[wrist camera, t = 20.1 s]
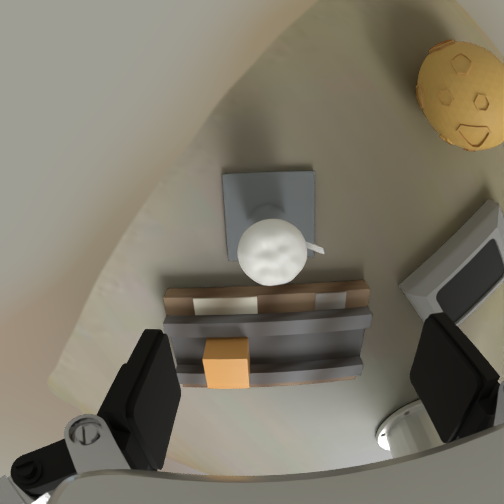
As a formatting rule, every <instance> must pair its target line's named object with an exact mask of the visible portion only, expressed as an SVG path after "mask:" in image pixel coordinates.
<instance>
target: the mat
mask: <svg viewBox="0 0 504 504" xmlns="http://www.w3.org/2000/svg"><path fill="white" fill-rule="evenodd" d="M222 179H223V194H224V208H225V222H226V236H227V249H228V261H238V255H237V250H238V245H239V241H240V239H241V237H242V235H243V233H244V230H245V227H246V225H247V222H248V219H249V216H250V215H251V213H252V212H253V211H254V210H255V208H256V207H257V206H260V205H264V204H268V203H269V204H271V205H274V206H277V207H279V208H280V209H281V210H282V212H283V213H284V214H285V215H286V217H287V218H288V219H289V220H290V221H291V222H292V223H293V224H294V225H295V227H296V228H297V229H298V230H299V231H300V232H301V233H302V235H303V237H304V239H305V241H306V242H309V243H312V244H314V233H315V171H274V172H249V173H230V174H222ZM307 257H314V251H313V250H311V249H308V248H307Z"/></svg>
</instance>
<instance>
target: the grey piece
mask: <svg viewBox="0 0 504 504" xmlns="http://www.w3.org/2000/svg"><path fill="white" fill-rule="evenodd" d="M369 294H370V288H369V286H368V285H367V283H366V282H365V281H364V280H354V281H339V282H323V283H305V284H285V285H274V286H266V285H264V286H239V287H209V288H168V289H167V291H166V293H165V295H164V297H163V300H164V305H165V310H166V315H167V316H166V318H165V320H164V322H163V326H164V331H165V334H167V335H168V337H171V339H172V344H173V348H174V352H175V357H176V361H177V367H176V373H177V377H178V381H179V384H183V387H208V386H207V381H206V376H205V371H204V365H203V360H202V359H203V354H204V349H205V345H206V340H207V337H248V341H249V356H250V387H270V386H288V385H302V384H314V383H324V382H334V381H342V380H350V379H355V377H356V376H358V375H361V373H362V368H363V362H362V360H361V358H360V352H361V347H362V341H363V335H364V329H365V328H370V327H371V321H372V315H373V314H372V312H371V311H370V309H369V307H368V302H369Z"/></svg>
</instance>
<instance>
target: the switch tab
mask: <svg viewBox="0 0 504 504" xmlns="http://www.w3.org/2000/svg"><path fill="white" fill-rule="evenodd" d="M202 360H203V365H204V371H205V376H206V381H207V386H208V388H212V389H234V388H250V356H249V341H248V337H207V340H206V345H205V349H204V354H203V359H202Z"/></svg>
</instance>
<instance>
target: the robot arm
mask: <svg viewBox="0 0 504 504" xmlns="http://www.w3.org/2000/svg"><path fill="white" fill-rule="evenodd" d="M499 377H500V376H499V375H498V373H497V372H496V371H495V370H494V368H493V367H492V366H491V365H490V363H489V362H488V361H487V360H486V359H485V357H484V356H483V355H482V354H481V353H480V352H479V350H478V349H477V348H476V347H475V346H474V345H473V343H472V342H471V341H470V340H469V339H468V338H467V336H466V335H465V334H464V333H463V332H462V331H461V330H460V329H459V327H458V326H457V325H456V324H455V323H454V322H453V321H452V320H451V319H450V318H449V317H448V315H447V314H446V313H444V312H440V313H433V314H430V315H429V316H428V318H427V319H426V320H425V322H424V325H423V329H422V333H421V337H420V341H419V344H418V348H417V352H416V355H415V358H414V362H413V365H412V368H411V371H410V380H411V383H412V384H413V386H414V388H415V390H416V392H417V394H418V396H419V397H420V400H417V401H415V402H412V403H410V404H408V405H406V406H404V407H402V408H401V409H399V410H397V411H396V412H395V413H393V414H392V415H391V416H389V417H388V418H387V419H386V420H385V421H384V422H383V423H382V425H381V426H380V427H379V429H378V431H377V434H376V439H377V442H378V445H379V446H380V447H381V448H384V449H388V450H391V453H392V456H393V459H389V460H385V461H380V462H376V463H371V464H366V465H360V466H355V467H349V468H342V469H335V470H328V471H320V472H311V473H300V474H287V475H269V476H217V475H193V474H181V473H170V472H159V471H157V469H160V470H161V469H162V468H163V464H164V460H165V456H166V452H167V448H168V444H169V440H170V436H171V432H172V428H173V424H174V420H175V417H176V413H177V409H178V405H179V401H180V397H181V389H180V384H179V381H178V377H177V373H176V369H175V365H174V361H173V356H172V352H171V348H170V344H169V339H168V335H167V334H163V332H162V330H160V329H145V330H144V332H143V333H142V335H141V337H140V339H139V341H138V343H137V345H136V347H135V349H134V350H133V352H132V354H131V356H130V358H129V360H128V362H127V364H126V363H125V364H123V365H122V367H121V368H120V370H119V372H118V374H117V376H116V378H115V380H114V382H113V384H112V386H111V387H110V389H109V391H108V393H107V395H106V397H105V399H104V401H103V403H102V405H101V407H100V409H99V411H98V413H97V415H93V414H84V415H80V416H77V417H76V418H74V419H72V420H71V421H70V422H69V423H68V425H67V426H66V427H65V431H64V436H65V439H62V440H60V441H58V442H55V443H53V444H50V445H48V446H46V447H43V448H41V449H38V450H35V451H33V452H30V453H27V454H25V455H22V456H20V457H19V458H17V459H16V460H15V462H14V463H13V465H12V467H11V476H9V477H7V476H5V475H4V476H3V477H1V478H0V504H504V381H503V382H502V383H501V384H499V383H498V379H499Z"/></svg>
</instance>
